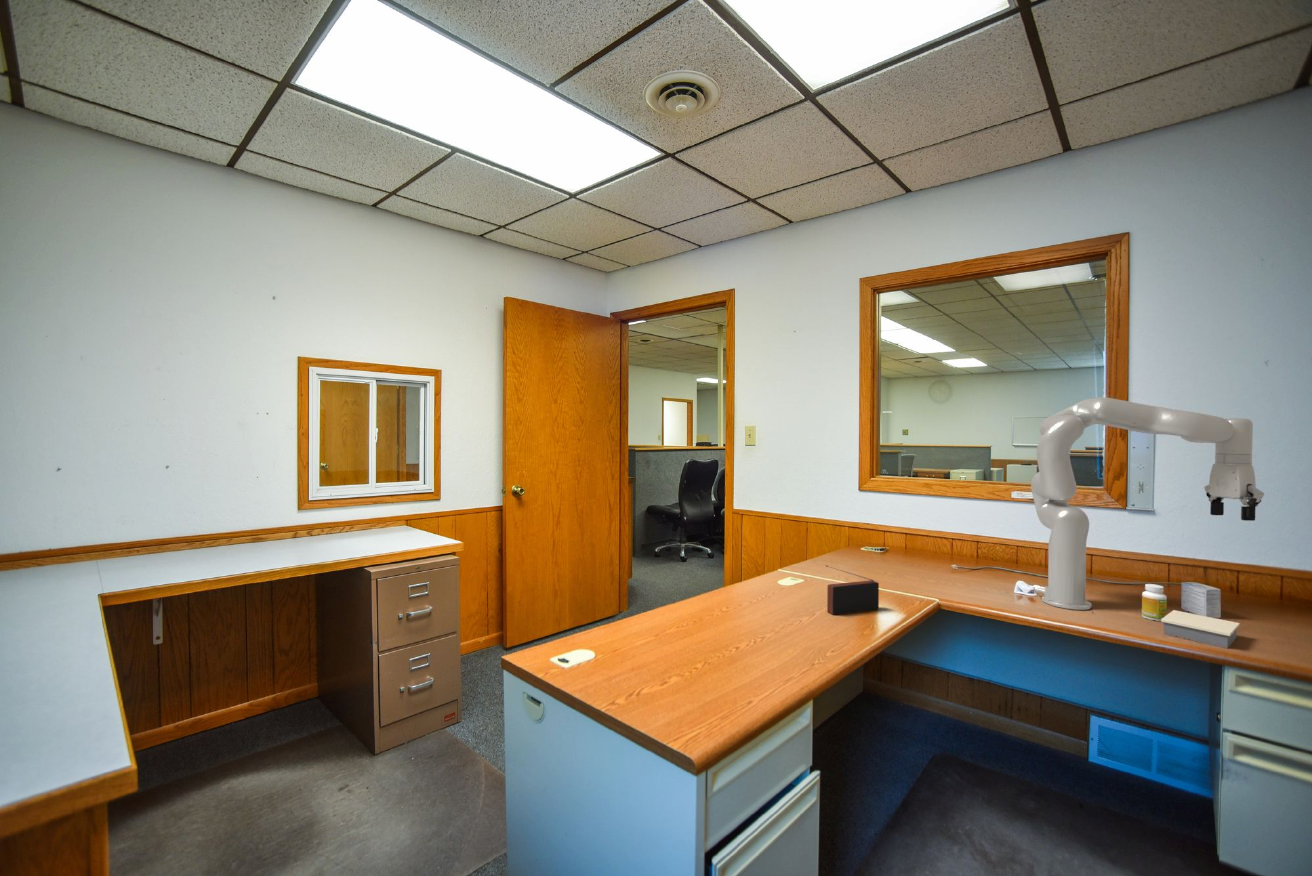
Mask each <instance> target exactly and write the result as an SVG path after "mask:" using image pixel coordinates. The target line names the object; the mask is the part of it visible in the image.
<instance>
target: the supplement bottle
mask: <svg viewBox="0 0 1312 876" xmlns="http://www.w3.org/2000/svg"><path fill="white" fill-rule="evenodd" d="M1144 585H1145V586H1144V590H1145V591H1143V592H1142V594H1141V617H1142V618H1143V619H1146V618H1147V619H1146V620H1149V621H1153V620H1156V621H1155V622H1161V619H1162V618H1164V617H1165V616H1166V615H1168V614H1167V612H1168V611H1167V609H1168V608H1167V607H1168V604H1167V603H1168V600H1167V599H1168V597H1167V595H1166V594H1164V586H1163V585H1159V584H1154V583H1153V584H1152V583H1147V584H1144Z"/></svg>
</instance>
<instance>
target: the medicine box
mask: <svg viewBox="0 0 1312 876" xmlns="http://www.w3.org/2000/svg"><path fill="white" fill-rule="evenodd" d="M1221 595H1222V594H1221V589H1220V588H1217V587H1214V586H1211V585H1207V584H1203V583H1200V582H1195V581H1184V582H1181V596H1180V597H1181V599H1180V600H1181V602H1180V605H1181V606H1180V607H1181V610H1182V609H1183V610H1182V611H1184V612H1188V611H1189V612H1188V613H1191V614H1196V615H1201V616H1206V617H1211V618H1216V619H1220V618H1221V619H1222V616H1221V615H1222V614H1221V613H1222V612H1221V610H1222V609H1221V602H1222V601H1221V599H1222V597H1221Z"/></svg>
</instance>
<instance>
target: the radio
mask: <svg viewBox="0 0 1312 876" xmlns="http://www.w3.org/2000/svg"><path fill="white" fill-rule="evenodd" d="M825 567H826V568H831V569H833V570H837V571H839V572H843V573H847V574H850V575H853V576H857V577H860V578H862V579H866V580H860V581H850V582H840V583H839V582H838V583H832V584H831V583H830V584H827V597H826V598H827V600H826V601H827V604H826V607H827V608H826V609H827V613H828V614H831V615H832V616H837V615H846V614H853V613H855V614H856V613H863V612H871V611H878V610H879V608H880V607H879V606H880V605H879V604H880V603H879V602H880V601H879V599H880V598H879V596H880V595H879V592H880V585H879V584H880V583H879V582H877V581H875V580H874V579H872V578H868V577H865V576H861V575H859V574H855V573H851V572H849V571H845V570H842V569H838V568H836V567H832V566H830V565H829V566H828V565H825Z"/></svg>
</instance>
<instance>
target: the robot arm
mask: <svg viewBox="0 0 1312 876" xmlns="http://www.w3.org/2000/svg"><path fill="white" fill-rule="evenodd" d="M1253 424H1254V423H1253V422H1252V420H1251V419H1249V418H1243V417H1242V418H1241V417H1239V418H1238V417H1237V418H1236V417H1235V418H1230V417H1229V418H1223V417H1220V416H1217V415H1212V414H1206V413H1201V412H1200V413H1199V412H1194V411H1188V410H1181V409H1173V408H1168V407H1162V406H1155V405H1150V404H1143V403H1137V402H1133V401H1128V400H1123V399H1122V400H1121V399H1118V398H1117V399H1116V398H1112V397H1106V396H1105V397H1104V396H1102V397H1101V396H1099V397H1093V398H1086V399H1083V400H1081V401H1079V402H1077V403H1075V404H1072V405H1071V406H1068V407H1066V408H1064V409H1061V410H1060V411H1058V412H1056V413H1054V414H1052V415H1049V416H1048V417H1046V418H1044V420H1043V421H1042V422H1041V423H1040V427H1039V432H1040V435H1041V438H1040V440H1039V442H1038V445H1037V447H1036V460H1037V467H1038V472H1036V473H1035V474H1034V475H1033V476H1032V479H1031V482H1030V489H1031V494H1032V498H1033V503H1034V507H1035V510H1036V514H1037V517H1038V520H1039V521H1040V523H1041V524H1042V526H1044V527H1045V528H1047V529H1049V530H1050V535H1049V540H1048V547H1047V548H1048V549H1047V550H1048V567H1047V568H1048V569H1047V571H1048V573H1047V574H1048V575H1047V576H1048V577H1047V583H1048V584H1047V585H1045V586H1042V585H1040V584H1039V585H1038V584H1034V585H1033V591H1035V592H1036V593H1040V594H1041V593H1042V594H1043V595H1042V597H1041V600H1042V602H1044V603H1046V604H1047V605H1050V606H1053V607H1058V608H1062V609H1065V610H1066V609H1067V610H1073V611H1074V610H1075V611H1076V610H1077V611H1087V610H1090V609H1092V608H1093V605H1092V603H1091V602H1090V601H1088V600H1086V582H1087V581H1086V577H1087V575H1086V574H1087V569H1086V567H1087V566H1086V565H1087V540H1088V535H1089V531H1090V530H1089V529H1090V520H1089V518H1088V515H1087V514H1086V512H1085V511H1084V510H1082V509H1081V508H1079V507H1078V506H1075V505H1072V504H1069V502H1068V501H1070V500H1072V499H1073V498H1074V497H1075V495H1076V494H1077V492H1078V491H1077V490H1078V489H1077V488H1078V487H1077V482H1076V479H1075V474H1074V470H1073V466H1072V464H1071V463H1072V462H1071V458H1070V457H1071V454H1070V453H1071V449H1072V446H1073V445H1074V444H1075V442H1076V441H1077V440H1079V439H1080V438H1081V437H1082V436H1083V434H1084V433H1085V429H1087V428H1089V427H1090V426H1092V425H1102V426H1107V427H1112V428H1118V429H1123V430H1127V431H1131V432H1136V433H1141V434H1149V435H1168V436H1177V437H1180V438H1181V439H1183V440H1184V441H1187V442H1190V443H1200V444H1203V443H1205V444H1214V446H1215V451H1214V452H1215V455H1214V462H1215V463H1212V466H1211V470H1210V473H1209V481H1208V484H1207V485H1205V486H1204V487H1203V488H1204V491H1205V493H1206V494H1205V495H1206V496H1207V498H1208V501H1209V502H1210V508H1209V509H1210V515H1211V516H1224V509H1225V508H1224V506H1225V503H1224V501H1223V500H1224V499H1231V500H1238V499H1239V501H1240V503H1242V505H1241V506H1240V509H1241V510H1240V519H1241V520H1242V521H1252V522H1253V521H1255V520H1256V508H1258V506H1259V504H1260V503H1261V502H1262V499H1263V498H1264V496H1265V492H1263V491H1262V490H1260V489H1259V488H1257V487H1256V486H1257V484H1256V473H1255V469H1254V466H1253V465H1252V464H1253V434H1254V433H1253V429H1254V428H1253V427H1254V426H1253Z"/></svg>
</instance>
